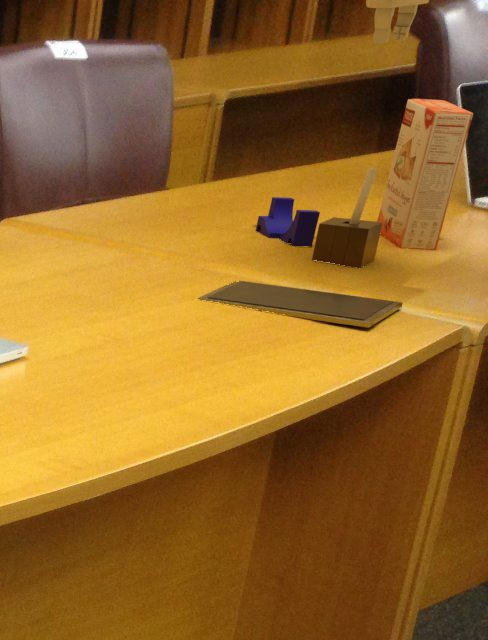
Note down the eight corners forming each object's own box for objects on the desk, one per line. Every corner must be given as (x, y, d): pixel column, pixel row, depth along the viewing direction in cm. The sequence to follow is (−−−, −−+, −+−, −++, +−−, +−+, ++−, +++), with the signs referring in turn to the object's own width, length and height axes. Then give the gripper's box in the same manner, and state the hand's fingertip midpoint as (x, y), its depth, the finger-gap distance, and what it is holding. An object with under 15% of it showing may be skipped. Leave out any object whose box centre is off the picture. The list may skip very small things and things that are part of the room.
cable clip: (254, 234, 249) (262, 196, 247) (282, 235, 249) (291, 197, 247) (281, 250, 239) (290, 211, 236) (310, 251, 239) (319, 212, 236)
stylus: (344, 263, 231) (379, 167, 223) (342, 265, 230) (376, 168, 223) (336, 261, 231) (370, 166, 224) (334, 263, 230) (368, 166, 223)
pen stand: (373, 263, 231) (382, 222, 228) (359, 270, 226) (369, 228, 223) (325, 257, 235) (333, 217, 232) (310, 264, 230) (319, 223, 227)
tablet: (401, 307, 204) (403, 301, 204) (368, 327, 194) (370, 321, 194) (235, 284, 217) (236, 279, 217) (196, 303, 207) (197, 297, 206)
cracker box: (371, 231, 252) (406, 97, 242) (410, 234, 251) (447, 99, 241) (395, 250, 239) (433, 109, 230) (436, 252, 239) (476, 111, 229)
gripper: (417, -67, 202) (392, 46, 208) (456, -68, 216) (432, 38, 222) (366, -67, 205) (344, 44, 211) (408, -68, 219) (386, 36, 225)
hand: (389, 41), depth 217 cm, fingers open, 8 cm apart
